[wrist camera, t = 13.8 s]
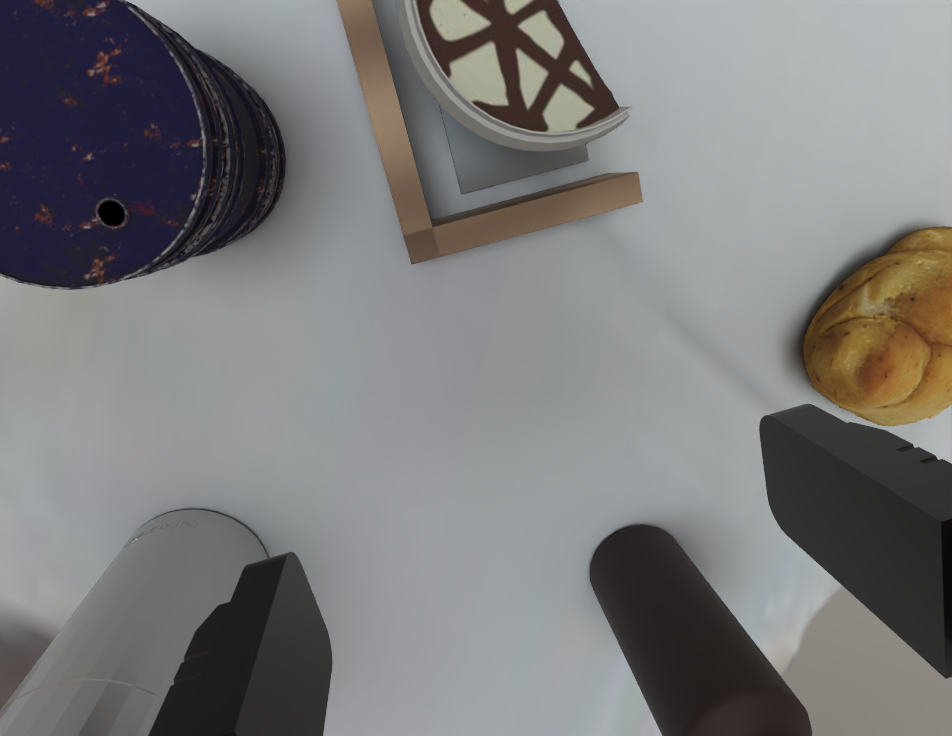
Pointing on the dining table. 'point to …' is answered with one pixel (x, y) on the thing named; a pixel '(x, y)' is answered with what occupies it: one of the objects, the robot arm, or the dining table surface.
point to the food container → (509, 71)
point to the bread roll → (889, 334)
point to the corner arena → (468, 165)
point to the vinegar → (688, 643)
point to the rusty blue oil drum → (122, 146)
